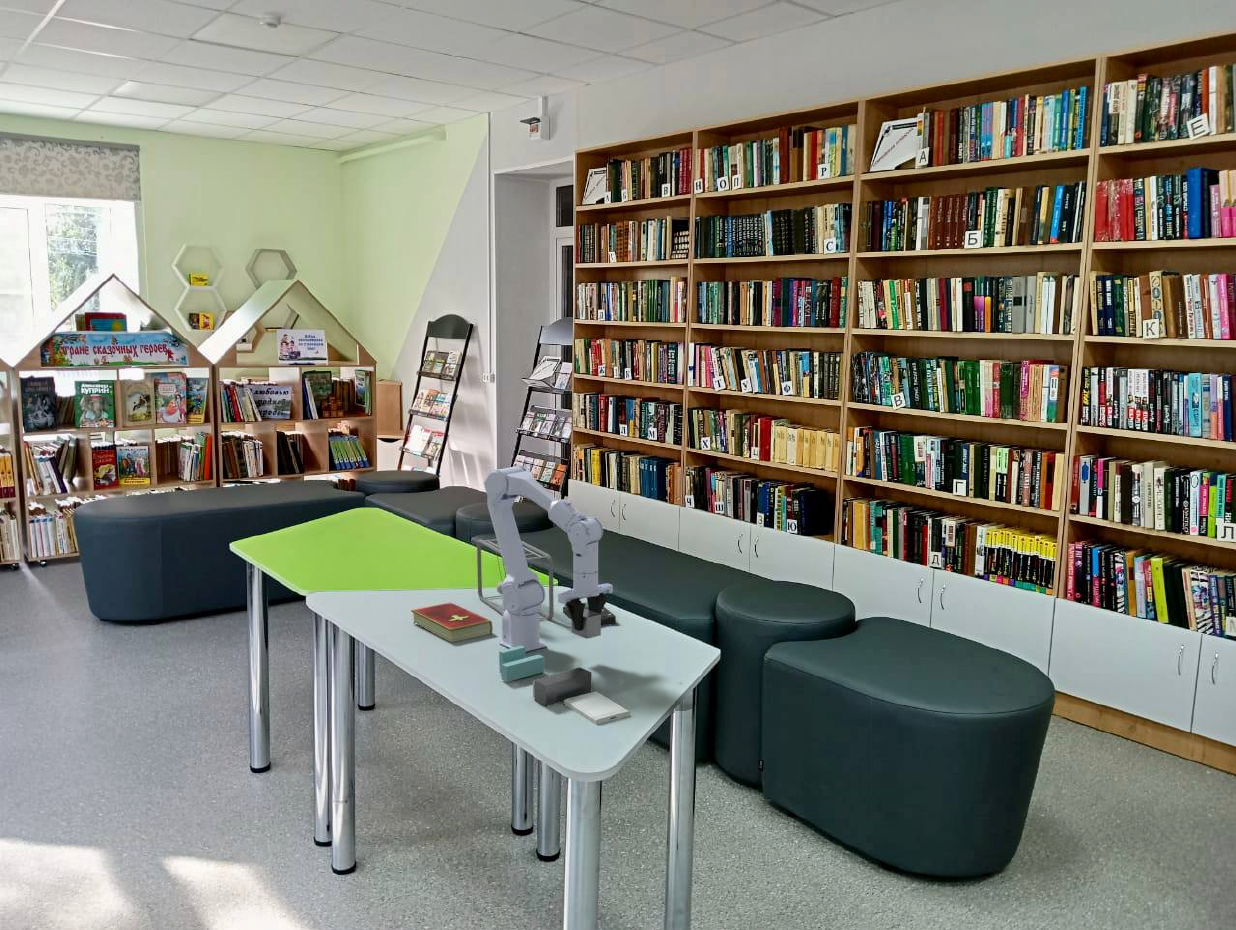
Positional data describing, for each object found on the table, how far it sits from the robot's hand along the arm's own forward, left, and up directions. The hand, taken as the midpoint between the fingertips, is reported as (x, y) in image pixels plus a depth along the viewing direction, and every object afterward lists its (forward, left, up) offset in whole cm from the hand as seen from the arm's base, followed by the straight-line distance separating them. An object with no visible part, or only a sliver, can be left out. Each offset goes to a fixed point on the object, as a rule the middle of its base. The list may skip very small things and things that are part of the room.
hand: (585, 627), depth 225 cm
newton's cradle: (-46, +10, -8) cm, 48 cm away
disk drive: (-26, +21, -9) cm, 35 cm away
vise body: (+12, -17, -8) cm, 22 cm away
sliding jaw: (-3, -17, -8) cm, 19 cm away
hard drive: (+24, -16, -9) cm, 30 cm away
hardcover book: (-42, -11, -9) cm, 44 cm away
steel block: (0, 0, -1) cm, 1 cm away
